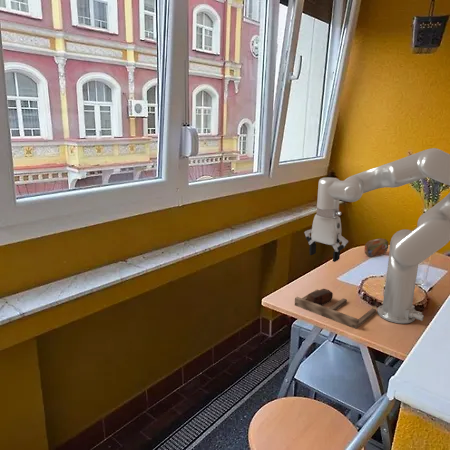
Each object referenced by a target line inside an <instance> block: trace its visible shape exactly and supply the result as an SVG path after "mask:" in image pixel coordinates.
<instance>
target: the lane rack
mask: <svg viewBox="0 0 450 450" xmlns="http://www.w3.org/2000/svg"><path fill="white" fill-rule="evenodd" d="M318 290H319V289H315V290H313V291H312V292H316V291H318ZM307 296H308V294H307V295H305V296H302V297H300V296H296V297H295V298H294V306H296V307H298V308H301V309H304V310H306V311H309V312H311V313H313V314H316V315H319V316H322V317H324V318H327V319H329V320H332V321H335V322H337V323H340V324H343V325H345V326H348V327H349V328H352V329H355V330H357V329H358V328H359V327H360V326H361V325H363V324H364V323H365V322H366V321H368V320H369V319H370V318H371V317H372V316H374V315H375V314H376V313H377V309H376V308H373V307H371V309H369V310H368V311H366V312H365V313H364V314H363V315H362V316H360V317H359V318H356V317H353V316H351V315H348V314H346V313H342V312H340V311H337V310H338V309H340V308H342V306H344V305H345V304H347V302H348V299H347V298H341V299H340V300H339V301H337V302H336V303H334V304H333V305H331V306H330V307H327V306H325V305H322V306H321V305H319V304H316V303H313V302H310V301H308V300H307Z"/></svg>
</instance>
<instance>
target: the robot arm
mask: <svg viewBox="0 0 450 450" xmlns="http://www.w3.org/2000/svg"><path fill="white" fill-rule="evenodd" d="M426 178H428V179H432V180H434V181H436V182H439V183H442V184H444V185H447V186H450V153H448V152H445V151H444V150H442V149H439V148H436V147H433V148H428V149H424V150H422V151H421V150H420V151H418V152H415V153H413V154H411V155H407V156H405V157H401V158H399V159H395V160H394V161H391V162H388V163H386V164H385V163H384V164H382V165H379V166H377V167H373V168H370V169H367V170H363V171H362V172H359V173H356V174H353V175H350V176H348V177H347V178H346V179H344V180H340V179H339V178H337V177H331V176H330V177H322V178H320V179H319V180H318V187H317V188H318V189H317V200H316V201H317V203H316V212H315V213H316V214H314V217H313V221H312V226H311V228H310V229H307V230H305V231H304V232H303V233H304V235H305V239H306V241H307V242H308V245H309V250H308V251H309V256H313V255H315V254H316V253H317V243H321V244H325V245H327V246H328V245H329V246H331V247H332V248H333V249H334V251H333V252H332V262H333V263H336V262H338V261H339V260H340V259H341V257H340V256H341V251H342V250H343V249H344V248H346V246H347V245H348V243H349V240H348V239H346V238H345V237H344V236H342V222H341V217H340V216H341V215H342V211H340V201H343V202H347V203H348V202H349V203H354V202H357V201H359V200H360V199H361V198H362V196H363V194H366V193H368V192H371V191H374V190H377V189H383V188H399V187H403V186H405V185H407V184H411V183H415V182H417V181H420V180H422V179H423V180H424V179H426ZM416 226H417V227H416V228H414V229H413V230H412V229H400V230H398V231H396V232H395V233H394V234H393V235H392V237H391V239H390V241H389V253H388V254H389V255H388V262H387V271H386V278H385V286H384V293H383V298H382V299H383V300H382V301H383V302H382V305H379V306H378V307H377V309H376V313H377V315H378V316H380V317H381V318H382V319H384V320H385V321H388V322H390V323H396V324H401V325H403V324H410V323H413V322H414V321H415V320H418V321H421V322H422V321H423V320H424V315H423V312H421V311H418V310H416V309H415V305H413V304H414V303H413V302H414V294H415V290H416V289H415V288H416V281H417V276H418V270H419V264H420V263H423V262H424V261H426V260H427V259H428V258H430V257H431V256H432V255H433V254H435V253H436V252H438V251H439V250H441V249H442V248H443V247H444V246H446V245H447V244H448V243H449V242H450V192H449V193H448V194H447V195H445V197H443V198H442V199H441V200H440V201H439V202H437V203H436V204H435V205H433V206H432V207H430V208H429V209H428V210H426V211H425V212H424V213H422V214H421V215H420V216H419V217H418V220H417V225H416ZM340 243H341V244H340Z"/></svg>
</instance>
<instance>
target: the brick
mask: <svg viewBox="0 0 450 450" xmlns="http://www.w3.org/2000/svg"><path fill="white" fill-rule="evenodd" d="M317 290H318V291H316V292H313V291H311V292H310V293H308V294H307V295H308V296H307V300H308V301H310V302H313V303H316V304H319V305H321V306H325V305H326V304H328V303H331V302H332V300H333V297H334V294H333V292H332V291H331V290H329V289H328V288H321V289H317Z"/></svg>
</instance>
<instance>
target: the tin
mask: <svg viewBox="0 0 450 450" xmlns="http://www.w3.org/2000/svg"><path fill="white" fill-rule="evenodd" d="M388 249H389V242H388V240H387V239H386V238H376V239H371V240H367V242H366V243H365V245H364V255H366V256H368V257H370V258H375V257H379V256H383V255H385V254H386V253H387V251H388Z"/></svg>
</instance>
